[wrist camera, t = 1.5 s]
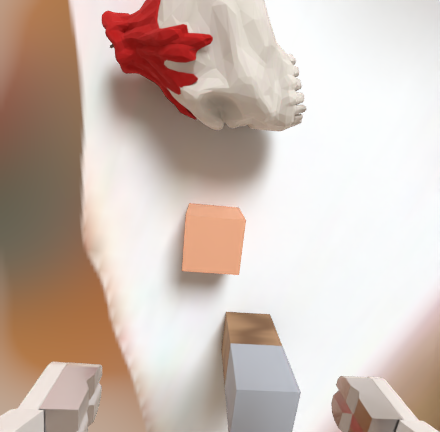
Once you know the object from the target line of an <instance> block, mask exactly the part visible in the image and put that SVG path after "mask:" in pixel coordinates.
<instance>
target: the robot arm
mask: <svg viewBox="0 0 440 432" xmlns="http://www.w3.org/2000/svg"><path fill="white" fill-rule="evenodd" d="M101 376H102V366H101V365H95V364H82V363H62V362H51V363H50V364H49V365H48V366H47V367H46V368H45V370H44V371H43V373H42V374H41V375H40V377H39V378H38V380H37V381H36V383H35V384H34V385H33V387H32V388H31V390H30V391H29V392H28V394H27V396H26V397H25V398H24V400H23V401H22V402H21V404H20V405H19V407H18V408H17V409H11V410H9V411H7V412H6V413H4V414H3V415H1V416H0V432H88V426H89V425H90V424H91V423H93V422H94V419H95V416H96V414H97V411H98V407H99V403H100V398H101V385H100V384H99V381H100V378H101ZM336 386H337V388H338V390H339V391H338V392H336V393H335V394H334V395H333V399H332V403H331V404H332V414H333V417H334V420H335V422H336V424H337V426H338V428H339V429H340V430H341V431H342V432H439V431H437V430H436V429H434V428H433V427H432V426H430V425H429V424H427V423H426V422H424V421H419V420H418V419H417V418H416V416H415V415H414V414H413V413H412V412H411V410H410V409H409V408H408V407H407V406H406V404H405V403H404V402H403V401H402V399H401V398H400V397H399V396H398V395H397V393H396V392H395V391H394V390H393V388H392V387H391V386H390V385H389V384H388V382H387V381H386V380H385V379H383V378H382V377H355V376H340V377H339V378H338V380H337V384H336Z"/></svg>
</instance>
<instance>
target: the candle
mask: <svg viewBox="0 0 440 432" xmlns="http://www.w3.org/2000/svg"><path fill="white" fill-rule="evenodd" d="M102 24H103V27H104V28H105V29H106V32H105V33H106V36H107V37H108V39H109V40H110V41H111V42H112V45H110V48H113V47H114V48H115V58H116V60H117V62H118V63H119V64H120V66H121V69H122V71H123V72H124V73H137V74H141V75H142V76H144V77H146V78H148V79H149V80H151V81H153V82H155V83H156V84H157V85H158V86H159V87H160V88H161V90H162V91H163V93H164V94H165V96H166V97H167V99H169V100H170V101H171V102H172V103H173V104H174V105H175V106H176V107H177V109H178V110H179V111H180V112H181V113H183V114H185V115H187V116H189V117H191V118H193V119H195V120H197V119H198V120H199V121H201V122H202V123H203V124H204V125H206V126H208V127H209V128H211V129H213V130H221V129H222V128H223V127H224V123H226V125H227V126H228V127H229V128H236V127H241V126H246V125H248V126H249V128H251V129H258V130H269V131H282V130H285V129H287V128H290V127H293V126H295V125H297V124H299V123H301V121H302V118H303V116H302V115H301V114H299V113H302V112H305V110H306V106H304V105H297V104H300V103H302V102H303V101H304V95H303V94H302V93H299V92H295V91H297V90H299V89H301V83H300V80H299V79H297V78H295V77H297V76H298V75H299V70H298V67H296V66H294V64H295V63H296V60H295V58H294V57H293V55H292V54H286V53H285V52H284V50H283V49H282V48H281V47H280V46H279V45H278V43H277V42H276V39H275V36H274V33H273V30H272V26H271V23H270V20H269V17H268V13H267V9H266V5H265V1H264V0H146V1H145V2H144V4H143V6H142V7H141V9H140V10H139V11H137V12H135V13H133V14H131V15H129V14H128V13H114V12H111V11H106V12H105V13H104V14H103V15H102Z"/></svg>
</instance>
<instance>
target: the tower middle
mask: <svg viewBox="0 0 440 432" xmlns="http://www.w3.org/2000/svg"><path fill="white" fill-rule="evenodd" d="M300 393H301V392H300V389H299V387H298V384H297V382H296V379H295V377H294V374H293V372H292V369H291V366H290V364H289V361H288V359H287V356H286V354H285V351H284V349H283V346H273V345H253V344H234V343H231V344H230V351H229V359H228V366H227V374H226V381H225V395H226V407H227V419H228V431H229V432H292V430H293V425H294V421H295V416H296V411H297V407H298V402H299V398H300Z"/></svg>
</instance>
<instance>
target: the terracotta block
mask: <svg viewBox="0 0 440 432" xmlns="http://www.w3.org/2000/svg"><path fill="white" fill-rule="evenodd" d="M245 223H246V220H245V218H244V216H243V214H242V213H241V211H240V209H239V208H237V207H226V206H214V205H203V204H191V203H189V206H188V210H187V213H186V220H185V234H184V248H183V262H182V271H189V272H203V273H218V274H233V275H239V270H240V262H241V255H242V247H243V239H244V231H245Z"/></svg>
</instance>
